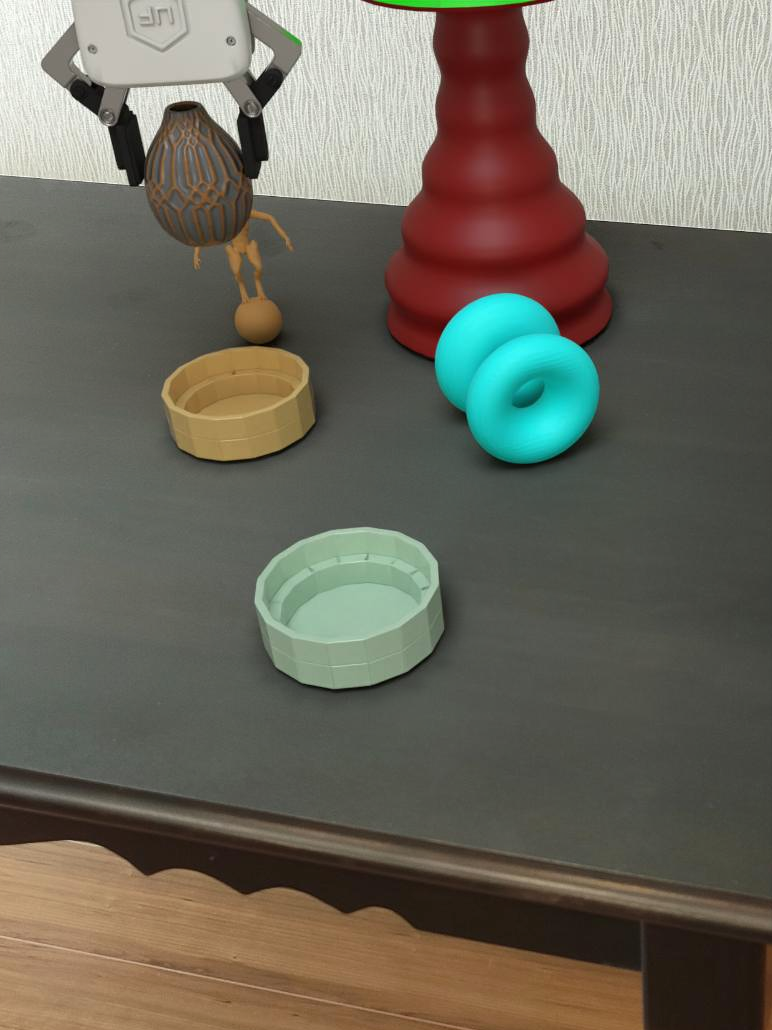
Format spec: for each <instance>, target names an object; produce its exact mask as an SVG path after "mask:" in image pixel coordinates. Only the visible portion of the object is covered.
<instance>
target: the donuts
mask: <svg viewBox="0 0 772 1030" xmlns="http://www.w3.org/2000/svg"><path fill="white" fill-rule="evenodd" d="M434 370H435V376H436V380H437V383H438V386H439V388H440V390H441V391H442V393H443V395H444V396H445V398H446V399H447V400H448V401H449V403H451V404H452V405H453V406H454V407H455V408H457V409H459V410H460V411H462V412H463V413H465V414H466V420H467V424H468V428H469V430H470V433H471V434H472V436H473V438H474V439H475V440H476V442H477V443H478V445H479V446H480V447H481V448H482V449H483V450H484V451H486V452H487V453H488V454H490V455H491V456H493V457H494V458H497V459H498V460H500V461H504V462H507V463H511V464H512V463H513V464H521V465H522V464H525V465H526V464H537V463H540V462H541V463H542V462H544V461H547V460H549V459H553V458H554V457H557V456H558V455H560V454H562V453H564V452H565V451H567V450H568V449H570V447H572V446H574V444H575V443H576V442H577V441H578V440H579V439H581V437H582V436H583V435H584V433H586V431H587V430H588V428H589V426H590V425H591V424H592V421H593V420H594V417H595V415H596V412H597V408H598V404H599V400H600V379H599V374H598V371H597V369H596V365H595V364H594V362H593V360H592V358H591V357H590V356H589V354H588V353H587V351H586V350H584V348H582V347H581V345H580V346H579V345H577V344H576V343H574V342H573V341H571V340H569V339H567V338H565V337H562V336H560V332H559V329H558V327H557V324H556V322H555V320H554V319H553V317H552V316H551V315H550V313H549V312H548V311H547V310H546V309H545V308H544V307H543V306H542V305H540V304H539V303H538V302H536V301H534V300H532V299H530V298H528V297H525V296H522V295H518V294H511V293H500V294H493V295H489V296H486V297H483V298H480V299H478V300H476V301H474V302H472V303H470V304H468V305H467V306H465V307H464V308H463V309H461V310H460V311H459V312H458V313H457V314H456V315H455V316H454V317H453V318H452V319H451V321H450V322H449V323H448V325H447V326H446V328H445V329H444V331H443V333H442V335H441V337H440V339H439V342H438V345H437V349H436V354H435V360H434Z"/></svg>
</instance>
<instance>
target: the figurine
mask: <svg viewBox="0 0 772 1030" xmlns="http://www.w3.org/2000/svg"><path fill="white" fill-rule="evenodd" d="M251 219H254V220H261V221H267V222H270V224H271V226H272V227H273V228H274V229H275V231H276V232H277V233H278V235H279V236H280V237H281V238H282V239H284V240H285V246H286V247H288V249H289V252H293V251H294V248H293V244H292V242H291V239H290V238H289V237H288V235H287V233H286V232H285V230H284V229H282V227H281V226H280V224H279V223H278V222H277V220H276V218H275V217H274V216H273V215H271V214H269V213H265V212H262V211H258V210H255V209H253V208H252V210H251V214H250V217H249V219H248V221H247V223H246V225H245V227H244V228H243V229H242V231H241V232H240V233H239V234H238V236H237V237H236V238H234V239H233V240H231V241H230V242H231V243H232V245H231V244H227V245H226V246H225V248H224V251H225V253H226V255H227V257H228V261H229V262H228V263H229V267H230V269H231V271H232V272H233V274H234V280H235V282H236V283H238V284H237V285H238V288H239V293H240V297H241V303H239V305H238V307H237V308H236V310H235V314H234V325H235V329H236V331H237V333H238V334H239V336H240V337H242V339H244V340H245V341H246V342H249V343H251V344H255V345H262V344H267V343H270V342H271V341H273V340H274V339H275V338H276V337H277V336H279V334H280V332H281V330H282V326H283V316H282V312H281V311H280V309H279V307H278V305H276V304H275V302H273V301H272V300H270V299H268V297H267V295H265V293H264V289H263V286H262V282H261V278H262V277H263V273H262V270H263V263H262V258H261V254H260V253H259V244H258V242H257V241H256V240H255V239H252V240H251V241H250V242H249V237H248V236H249V229H250V220H251ZM201 250H202V247H194V255H193V266H194V269H195V270H200V269H201V267H200V263H201V264H202V261H201V259H200V258H199V256H200V253H201ZM245 254H246V257H247V262H248V263H249V264H250V265H252V267H254V269H255V271H254V272H253V277H254V283H255V288H256V289H255V290H256V294H257V296H252V297H249V295H248V291H247V290H246V286H245V283H244V276H243V275H242V274H241V272H242V269H241V268H242V266H243V258H242V256H241V255H245Z"/></svg>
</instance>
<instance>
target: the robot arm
mask: <svg viewBox="0 0 772 1030" xmlns="http://www.w3.org/2000/svg"><path fill="white" fill-rule="evenodd" d="M70 3H71V10H72V15H73V22H72V23H71V24H70V25H69V27H68V28H67V29H66V31H65V32H64V33H63V34H62V35H61V36H60V37H59V39H58V40H57V41H56V42H55V43H54V45H53V46H52V47H51V48H50V49H49V50H48V52H47V53H46V54H45V55H44V57H43V58H42V59H41V61H40V67H41V69H42V70H43V72H44V73H46V74H47V75H48V76H49V77H50V78H52V79H53V80H54V81H55V82H56V83H57V84H58V85H60V86H61V87H62V88H63V89H66V90H67V91H68V92H69V94H70V95H71V97H72V98H73V99H74V100H75V101H76V102H78V103H79V104H80V105H82V106H83V107H85V109H87V110H88V111H90V112H91V113H93V114H94V115H95V116H96V117H97V118H98V120H99V122H100V124H102V125H103V126H105V127H107V130H108V134H109V138H110V142H111V147H112V151H113V155H114V160H115V164H116V167H117V169H118V171H125V173H126V177H127V181H128V182H127V183H128V186H129V188H133V187H134V188H135V187H139V186H140V185H142V184H143V183H144V166H145V159H146V152H145V147H144V142H143V138H142V134H141V129H140V125H139V121H138V116H137V114H136V113H134V111H133V110H132V109H131V110H130V106H129V105H128V104H127V102H128V98H129V95H130V91H131V89H139V88H140V89H141V88H159V87H172V86H173V87H174V86H175V87H177V86H189V85H190V86H193V85H208V84H219V83H222V84H223V86H224V87H225V88H226V90H227V91H228V92H229V94H230V95H231V97H232V98H233V100H234V102H235V103H237V105H238V111H239V112H238V115H237V117H236V128H237V134H238V139H239V145H240V149H241V151H242V157H243V162H244V168H245V174H246V177H249V179H252V180H258V179H259V176H260V173H261V169H262V164H263V163H262V162H268V161H269V158H270V152H269V151H270V150H269V143H268V137H267V131H266V125H265V121H264V119H265V118H264V114H263V110H264V108H265V107H266V106H267V105H268V104H269V102H270V101H271V100H272V98H273V97H274V96H275V95H276V93H277V92H278V91H279V90H280V89H281V87H282V85H283V84H284V82H285V80H286V78H288V76H289V74H290V73H291V71H292V70H293V68H294V67H295V65H296V63H297V62H298V61H299V59H300V58H301V56H302V52H303V49H304V45H303V42H302V41H301V40H300V39H299V38H298V37H296V36H295V35H294V34H292V33H291V32H290V31H288V30H287V29H286V28H284V27H283V26H281V25H280V24H279V23H277V22H276V21H274V19H272V18H270V16H268V15H266V14H265V13H264V12H262V11H261V10H260V9H258V8H257V7H255V6H254V5H253V4H251V3H250V2H249V0H70ZM256 40H258V41H259V42H261V43H262V44H263V45H265V46H266V47H268V48H269V49H270V50H271V51H272V52H273V57H272V59H271V60H270V62H269V64H267V66H266V67H265V68H264V70H263V71H262V72H261V74H260V75H258V77H257V78H256V76H255V75H254V74H253V73H252V71H251V69H250V67H251V65H252V60H253V59H252V58H253V54H254V53H255V51H256ZM78 52H80V57H81V61H82V64H83V68H84V71H85V73H86V74H85V73H84V72H83V71H81V68H79V67H78V66H77V65H76V64H75V61H74V57H75V56H76V55H77V54H78Z"/></svg>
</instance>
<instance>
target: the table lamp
mask: <svg viewBox="0 0 772 1030" xmlns="http://www.w3.org/2000/svg"><path fill="white" fill-rule="evenodd" d="M360 1H362V2H364V3H367V4H370V5H373V6H377V7H381V8H387V9H392V10H400V11H410V12H418V13H434V14H435V21H434V27H433V34H432V50H433V55H434V59H435V60H436V63H437V66H438V69H439V73H440V80H439V86H438V89H437V94H436V97H435V103H434V112H435V120H436V121H435V122H436V128H437V129H436V134H435V137H434V140H433V142H432V143H431V145H430V146H429V148H428V150H427V152H426V153H425V156H424V157H423V160H422V163H421V182H422V184H421V188H420V190H419V192H418V193H417V194H416V195H415V196H414V198H412V200H411V201H410V203H409V204H408V205H407V207H406V209H405V211H404V213H403V215H402V217H401V219H400V222H401V223H400V234H401V237H402V238H401V239H402V242H403V243H402V244H401V245H400V246H399V247H398V248H397V250H395V252H394V253H393V254H392V255H391V257H390V258H389V261H388V263H387V265H386V267H385V269H384V276H383V277H384V280H383V281H384V286H385V289H386V292H387V293H388V296H389V298H390V299H391V301H390V304H389V306H388V309H387V311H386V313H387V314H386V324H387V327H388V329H389V333H390V334H391V335H392V336H393V337H394V338H395V339H396V340H397V341H398V342H399V343H400V344H401V345H403V346H405V347H407V349H410V350H411V351H413V352H415V353H417V354H419V355H421V356H424V357H427V358H429V359H431V360H434V361H435V354H436V349H437V345H438V342H439V339H440V337H441V335H442V333H443V331H444V329H445V328H446V326H447V325H448V323H449V322H450V321H451V319H452V318H453V317H454V316H455V315H456V314H457V313H458V312H459V311H460V310H461V309H463V308H464V307H465V306H467V305H468V304H470V303H472V302H474V301H476V300H478V299H480V298H483V297H486V296H489V295H493V294H500V293H511V294H518V295H522V296H525V297H528V298H530V299H532V300H534V301H536V302H538V303H539V304H540V305H542V306H543V307H544V308H545V309H546V310H547V311H548V312H549V313H550V315H551V316H552V317H553V319H554V320H555V322H556V324H557V327H558V329H559V332H560V336H562V337H565V338H567V339H569V340H571V341H573V342H574V343H576V344H577V345H579V346H580V347H581V346H582V345H584V344H585V343H587V342H588V341H590V340H592V339H593V338H594V337H596V336H597V335H598V334H599V333H600V332H601V331H602V330H604V329H605V327H606V326H607V324H608V322H609V320H610V319H611V317H612V312H613V302H612V297H611V295H610V292H609V290H608V289H607V288H606V284H607V282H608V279H609V274H610V261H609V257H608V254H607V253H606V251H605V250H604V248H603V247H602V245H601V244H600V243H599V242H598V241H597V240H596V239H595V238H594V237H593V236H592V235H591V234H589V233H588V232H587V231H586V228H587V227H586V226H587V215H586V211H585V207H584V204H583V203H582V202H581V200H580V199H579V197H578V196H577V195H576V194H575V192H573V191H572V190H571V189H570V188H569V187H568V186H567V185H565V184H564V183H563V182H562V181H561V178H560V174H559V173H560V171H559V163H558V158H557V154H556V152H555V151H554V149H553V147H552V146H551V144H550V143H549V142H548V141H547V139H546V138H545V137H544V136H543V134H542V133H541V131H540V129H539V128H538V125H537V101H536V97H535V94H534V91H533V88H532V86H531V83H530V82H529V81H530V80H529V79H528V76H527V60H528V55H529V50H530V43H531V40H530V39H531V38H530V34H529V29H528V26H527V23H526V20H525V18H524V12H523V8H525V7H530V6H536V5H540V4H546V3H551V2H555V1H556V0H360Z"/></svg>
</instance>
